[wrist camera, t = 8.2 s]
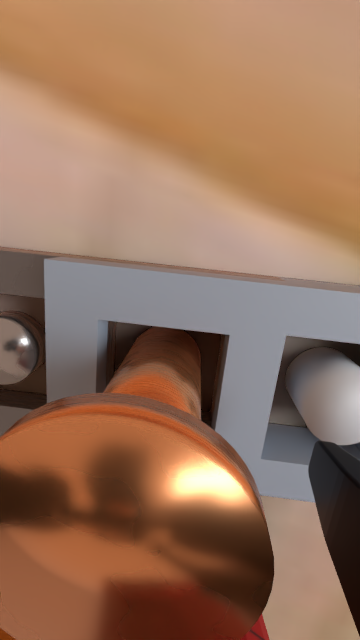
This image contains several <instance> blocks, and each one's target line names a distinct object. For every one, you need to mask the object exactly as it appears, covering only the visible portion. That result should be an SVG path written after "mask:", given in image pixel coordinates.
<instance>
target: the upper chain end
mask: <svg viewBox="0 0 360 640" xmlns="http://www.w3.org/2000/svg"><path fill="white" fill-rule="evenodd" d="M278 278H280V279H282V280H284V281H279V280H269V279H260V278H251V277H242V276H233V275H224V274H214V273H205V272H196V271H187V270H178V269H169V268H159V267H150V266H141V265H132V264H123V263H114V262H104V261H95V260H86V259H77V258H68V257H55V258H48V259H44V290H45V338H46V386H47V403H50V402H53V401H56V400H59V399H62V398H65V397H70V396H76V395H81V394H88V393H103V392H104V390H105V388H106V362H107V335H108V321H115V322H123V323H132V324H140V325H149V326H158V327H166V328H175V329H183V330H192V331H201V332H209V333H218V334H225V340H224V346H223V353H222V360H221V367H220V373H219V380H218V387H217V393H216V400H215V407H214V413H213V420H212V427H211V428H212V429H213V430H215V431H216V432H217V433H218V434H220V435H221V436H222V437H223V438H224V439H225V440H226V441H227V442H228V443H229V444H230V445H231V446H232V447H233V448H234V449H235V450H236V452H237V453H238V454H239V456H240V457H241V458H242V460H243V461H244V462H245V464H246V465H247V467H248V469H249V471H250V472H251V474H252V476H253V478H254V480H255V483H256V485H257V488H258V491H259V494H260V495H263V496H271V497H278V498H286V499H293V500H300V501H308V502H315V499H314V495H313V491H312V487H311V483H310V479H309V474H308V467H309V463H310V459H311V455H312V451H313V447H314V444H315V443H316V442H317V441H319V440H320V441H328V442H333V443H335V444H337V445H338V446H340V447H341V448H342V449H344V450H345V451H347V452H348V453H350V454H351V455H352V456H354V457H355V458H357V459H358V460H360V367H359V366H358V365H357V364H355V363H354V362H353V361H352V360H350V359H349V358H348V357H347V356H346V355H344V354H343V353H341V352H340V351H338V350H336V349H332V348H328V347H318V348H313V349H309V350H307V351H305V352H303V353H301V354H300V355H298V356H297V357H296V358H295V359H294V360H293V361H292V362H291V364H290V365H289V367H288V369H287V372H286V376H285V385H286V389H287V391H288V393H289V395H290V397H291V399H292V400H293V402H294V404H295V406H296V407H297V409H298V411H299V413H300V414H301V416H302V418H303V420H304V421H305V423H306V425H307V427H308V428H303V427H296V426H288V425H280V424H272V423H268V421H269V417H270V412H271V407H272V402H273V397H274V392H275V388H276V383H277V378H278V373H279V368H280V363H281V359H282V354H283V349H284V344H285V339H286V336H295V337H304V338H312V339H321V340H330V341H338V342H347V343H356V344H360V286H356V285H347V284H337V283H328V282H319V281H310V280H301V279H291V278H282V277H278Z"/></svg>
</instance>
